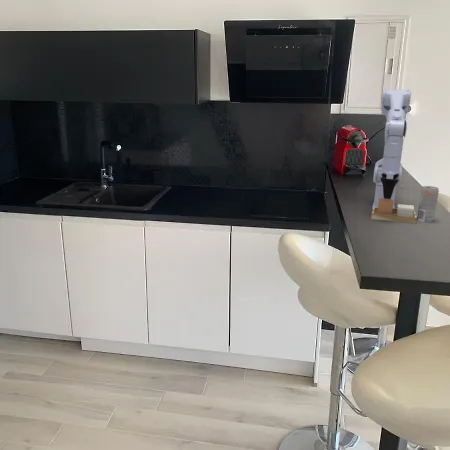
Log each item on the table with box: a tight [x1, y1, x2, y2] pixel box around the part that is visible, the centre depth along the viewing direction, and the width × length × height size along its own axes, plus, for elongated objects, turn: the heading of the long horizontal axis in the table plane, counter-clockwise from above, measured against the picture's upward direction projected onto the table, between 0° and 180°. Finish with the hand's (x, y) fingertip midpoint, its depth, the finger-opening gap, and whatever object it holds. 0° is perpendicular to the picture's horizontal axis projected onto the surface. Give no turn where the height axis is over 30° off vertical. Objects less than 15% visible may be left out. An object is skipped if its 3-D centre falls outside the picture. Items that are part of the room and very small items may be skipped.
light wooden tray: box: [371, 207, 418, 225], centre depth 159 cm, size 9×14×3 cm, turn 70°
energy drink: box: [416, 185, 440, 224], centre depth 155 cm, size 5×5×12 cm
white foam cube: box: [396, 203, 415, 217], centre depth 157 cm, size 5×5×4 cm
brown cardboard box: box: [377, 198, 393, 215], centre depth 159 cm, size 5×5×6 cm
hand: (387, 196), depth 158 cm, fingers open, 7 cm apart
